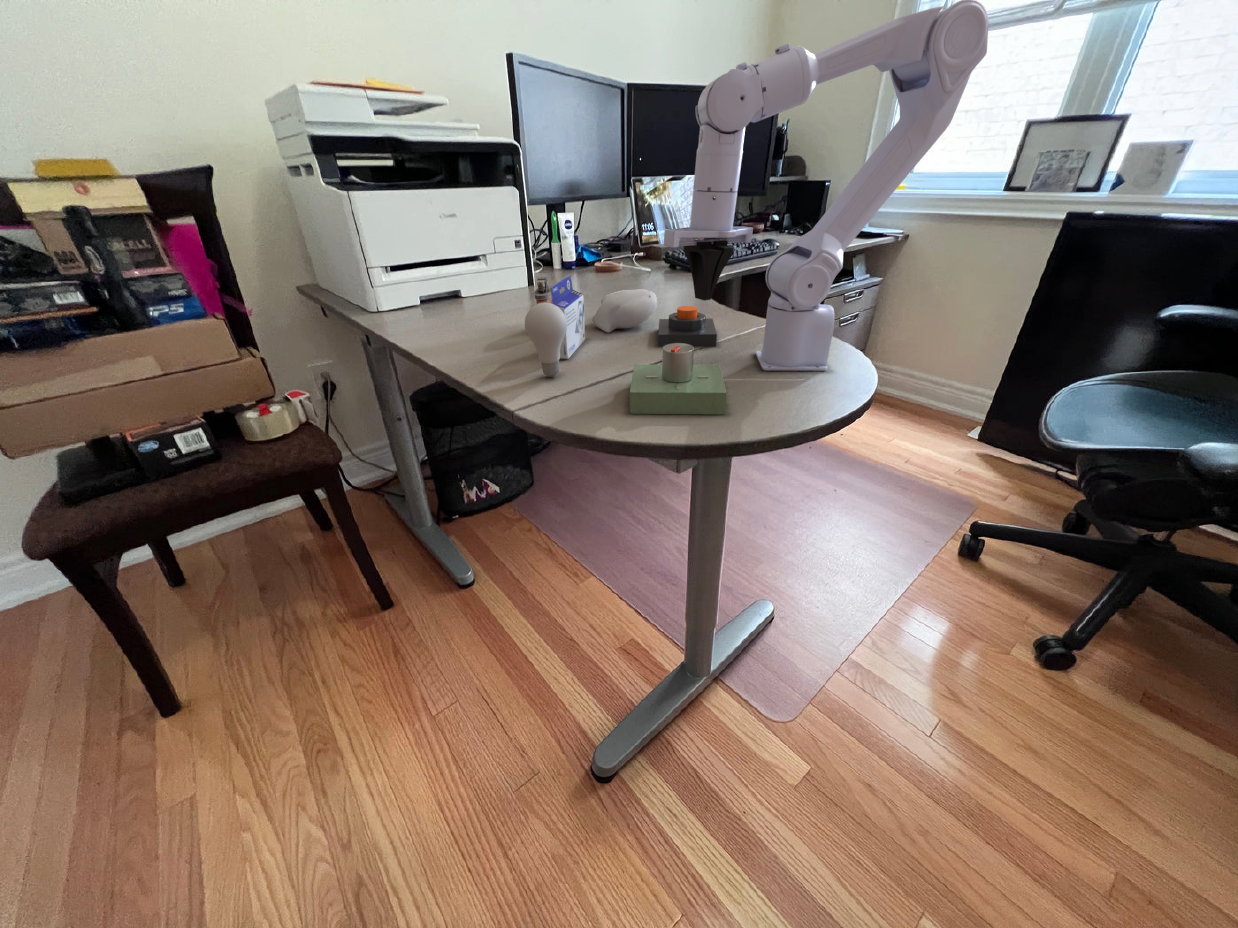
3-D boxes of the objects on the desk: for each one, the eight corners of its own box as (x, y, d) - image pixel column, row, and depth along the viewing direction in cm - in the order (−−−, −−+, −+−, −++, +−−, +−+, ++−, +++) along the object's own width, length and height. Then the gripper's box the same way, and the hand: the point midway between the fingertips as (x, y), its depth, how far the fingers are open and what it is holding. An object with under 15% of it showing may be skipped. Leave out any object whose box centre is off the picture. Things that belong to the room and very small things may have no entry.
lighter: (553, 335, 94) (548, 280, 88) (536, 336, 94) (529, 281, 88) (558, 324, 100) (554, 272, 95) (542, 324, 100) (536, 273, 95)
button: (696, 315, 89) (697, 305, 88) (697, 320, 86) (698, 310, 85) (676, 315, 89) (677, 305, 88) (676, 321, 86) (677, 311, 85)
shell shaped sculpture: (653, 315, 104) (653, 283, 100) (661, 332, 93) (661, 297, 90) (591, 318, 103) (589, 286, 100) (592, 336, 92) (590, 300, 89)
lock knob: (668, 370, 67) (669, 339, 65) (696, 374, 66) (698, 342, 64) (657, 380, 64) (657, 348, 62) (686, 384, 63) (687, 352, 60)
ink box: (569, 360, 81) (563, 288, 75) (556, 360, 82) (548, 288, 76) (587, 339, 91) (582, 273, 85) (575, 339, 91) (569, 273, 85)
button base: (712, 330, 93) (713, 308, 91) (716, 346, 85) (717, 323, 83) (659, 330, 94) (659, 309, 92) (658, 347, 86) (658, 324, 84)
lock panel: (718, 384, 70) (720, 363, 69) (724, 414, 62) (726, 391, 60) (634, 384, 71) (634, 363, 70) (630, 413, 63) (629, 391, 61)
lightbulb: (578, 372, 76) (573, 299, 71) (558, 386, 72) (550, 310, 66) (545, 367, 79) (537, 296, 73) (523, 380, 74) (513, 306, 68)
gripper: (694, 192, 57) (682, 310, 64) (776, 193, 65) (758, 299, 72) (656, 189, 62) (650, 299, 69) (737, 190, 70) (723, 290, 77)
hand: (702, 298), depth 71 cm, fingers closed
